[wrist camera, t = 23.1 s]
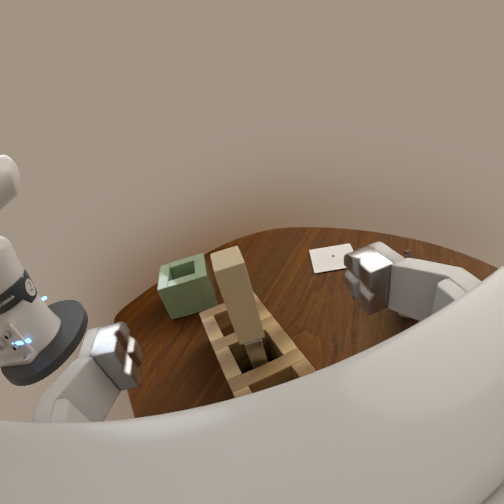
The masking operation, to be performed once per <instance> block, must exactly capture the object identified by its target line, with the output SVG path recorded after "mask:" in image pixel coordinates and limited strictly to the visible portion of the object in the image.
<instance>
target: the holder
mask: <svg viewBox="0 0 504 504" xmlns="http://www.w3.org/2000/svg"><path fill="white" fill-rule="evenodd" d="M157 291H158V293H159V295H160V297H161V300H162V302H163V304H164V306H165V308H166V310H167V312H168V314H169V316H170V318H171V320H173V319H176V318H180V317H184V316H187V315H191V314H194V313H198V312H201V311H204V310H207V309H210V308H213V307H215V306H218V303H217V298H216V293H215V288H214V283H213V279H212V276H211V274H210V271H209V268H208V265H207V262H206V259H205V256H204V253H201V254H198V255H195V256H191V257H188V258H185V259H182V260H179V261H175V262H172V263H170V264H166V265H163V266H161V267H160V274H159V281H158V288H157Z"/></svg>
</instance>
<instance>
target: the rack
mask: <svg viewBox="0 0 504 504" xmlns="http://www.w3.org/2000/svg"><path fill="white" fill-rule="evenodd" d="M253 294H254V298H255V302H256V305H257V309H258V313H259V316H260V320H261V324H262V327H263V331H264V334H265V337H263V338H261V340H262V343H263V347H264V350H265V353H266V357H267V360H269V359H271V358H274V360H272V361H270V362H268V363H266V364H264V365H262V366H259V367H257V368H255V369H253V370H251V371H248V372H246V373H244V374H242V373H241V372H242V371H244V370H247V369H249V368H251V367H252V364H251V362H250V359H249V356H248V353H247V351H246V348H245V345H244V344H241V345H240V344H239V341H238V339H237V336H236V333H235V330H234V328H233V325H232V322H231V319H230V317H229V314H228V311H227V308H226V305H225V303H223V304H220V305H218V306H215V307H213V308H210V309H208V310H205V311H203V312H200V313H199V315H200V317H201V320H202V323H203V325H204V328H205V330H206V333H207V335H208V337H209V340H210V342H211V345H212V347H213V350H214V352H215V354H216V357H217V359H218V361H219V364H220V366H221V368H222V371H223V373H224V375H225V377H226V380H227V382H228V384H229V386H230V388H231V391H232V393H233V395H234V397H235V398H237V397H241V396H244V395H248V394H251V393H255V392H258V391H261V390H264V389H268V388H271V387H274V386H277V385H280V384H283V383H286V382H289V381H291V380H294V379H297V378H300V377H303V376H305V375H308V374H311V373H313V372H316V370H315V369H314V368H313V367H312V365H311V364H310V363H309V362H308V360H307V359H306V358H305V357H304V355H303V354H302V353H301V352H300V351H299V349H298V348H297V347H296V345H295V344H294V343H293V342H292V340H291V339H290V338H289V337H288V335H287V334H286V333H285V332H284V330H283V329H282V328H281V327H280V325H279V324H278V323H277V322H276V320H275V319H274V318H273V316H272V315H271V314H270V313H269V311H268V310H267V309H266V308H265V306H264V305H263V304H262V302H261V301H260V300H259V299H258V297H257V296H256V295H255V293H254V292H253Z"/></svg>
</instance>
